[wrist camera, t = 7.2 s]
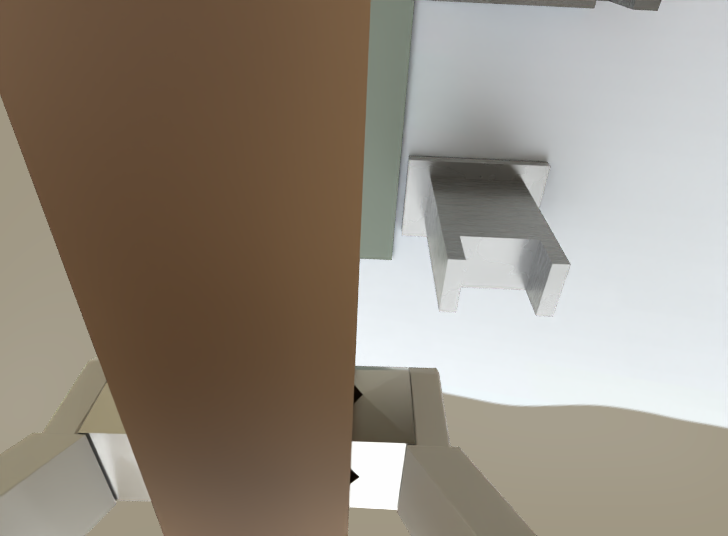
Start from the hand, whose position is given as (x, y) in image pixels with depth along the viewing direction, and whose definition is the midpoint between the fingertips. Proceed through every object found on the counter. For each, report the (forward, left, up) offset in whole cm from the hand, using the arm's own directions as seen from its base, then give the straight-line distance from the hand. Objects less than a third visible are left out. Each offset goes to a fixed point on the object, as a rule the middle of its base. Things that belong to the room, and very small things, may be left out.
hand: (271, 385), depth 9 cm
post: (-8, +6, -21) cm, 23 cm away
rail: (0, 0, -1) cm, 1 cm away
